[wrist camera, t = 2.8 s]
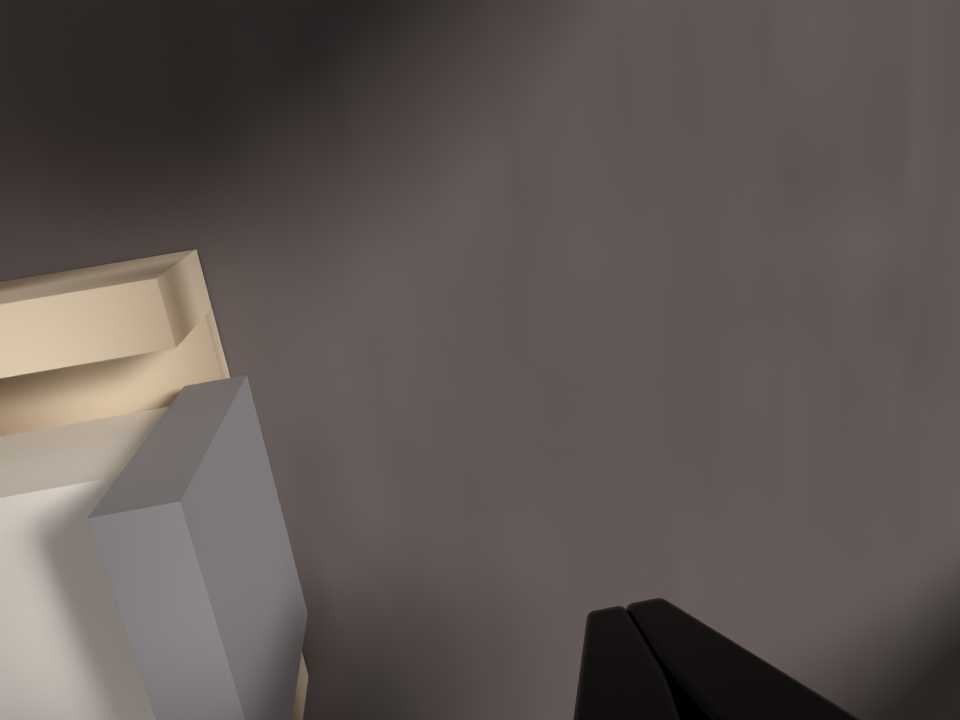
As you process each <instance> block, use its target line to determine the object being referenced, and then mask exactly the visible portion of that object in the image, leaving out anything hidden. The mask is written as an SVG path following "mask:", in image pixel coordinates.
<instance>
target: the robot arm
mask: <svg viewBox="0 0 960 720" xmlns="http://www.w3.org/2000/svg"><path fill="white" fill-rule="evenodd" d="M574 720H860V719H858V718H857V717H855V716H854V715H852V714H850V713H849V712H847V711H845V710H844V709H842V708H841V707H839V706H837V705H836V704H834V703H832V702H831V701H829V700H828V699H826V698H824V697H823V696H821V695H819V694H818V693H816V692H815V691H813V690H811V689H810V688H808V687H806V686H805V685H803V684H802V683H800V682H798V681H797V680H795V679H793V678H792V677H790V676H789V675H787V674H785V673H784V672H782V671H780V670H779V669H777V668H775V667H774V666H772V665H771V664H769V663H767V662H766V661H764V660H762V659H761V658H759V657H758V656H756V655H754V654H753V653H751V652H749V651H748V650H746V649H745V648H743V647H741V646H740V645H738V644H736V643H735V642H733V641H732V640H730V639H728V638H727V637H725V636H723V635H722V634H720V633H719V632H717V631H715V630H714V629H712V628H710V627H709V626H707V625H706V624H704V623H702V622H701V621H699V620H697V619H696V618H694V617H693V616H691V615H689V614H688V613H686V612H684V611H683V610H681V609H679V608H678V607H676V606H675V605H673V604H671V603H670V602H668V601H666V600H664V599H661V598H656V599H651V600H646V601H641V602H636V603H631V604H629V605H628V606H627V608H626V609H625V608H624V607H621V606H616V607H611V608H606V609H601V610H595V611H592V612H590V613H589V614H588V616H587V622H586V629H585V637H584V644H583V652H582V659H581V667H580V674H579V682H578V690H577V697H576V705H575V712H574Z"/></svg>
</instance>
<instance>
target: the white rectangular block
mask: <svg viewBox="0 0 960 720" xmlns="http://www.w3.org/2000/svg"><path fill="white" fill-rule="evenodd" d="M307 616H308V613H307V609H306V605H305V601H304V597H303V593H302V589H301V585H300V581H299V577H298V573H297V569H296V566H295V562H294V558H293V554H292V550H291V546H290V542H289V538H288V534H287V530H286V526H285V522H284V519H283V515H282V511H281V507H280V503H279V499H278V495H277V491H276V487H275V483H274V479H273V475H272V472H271V468H270V464H269V460H268V456H267V452H266V448H265V444H264V440H263V436H262V432H261V428H260V425H259V421H258V417H257V413H256V409H255V405H254V401H253V397H252V393H251V389H250V385H249V381H248V378H247V375H244V376H238V377H232V378H227V379H221V380H215V381H209V382H204V383H198V384H192V385H187V386H184V387H183V389H182V390H181V391H180V393H179V394H178V396H177V397H176V398H175V400H174V401H173V402H172V404H171V405H170V406H169V407H164V408H159V409H153V410H147V411H142V412H136V413H131V414H125V415H119V416H114V417H108V418H102V419H97V420H91V421H85V422H80V423H74V424H68V425H63V426H57V427H51V428H46V429H40V430H35V431H29V432H23V433H18V434H12V435H6V436H1V437H0V720H292V713H293V707H294V700H295V694H296V687H297V681H298V674H299V668H300V662H301V655H302V649H303V642H304V636H305V629H306V623H307Z"/></svg>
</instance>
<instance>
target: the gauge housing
mask: <svg viewBox="0 0 960 720" xmlns="http://www.w3.org/2000/svg"><path fill="white" fill-rule="evenodd" d="M227 378H230V375H229V372H228V368H227V364H226V360H225V356H224V353H223V349H222V345H221V341H220V337H219V334H218V330H217V326H216V322H215V318H214V315H213V311H212V307H211V303H210V299H209V296H208V292H207V288H206V284H205V280H204V276H203V273H202V269H201V265H200V261H199V257H198V254H197V250H190V251H184V252H178V253H172V254H166V255H159V256H153V257H147V258H141V259H135V260H129V261H123V262H117V263H111V264H105V265H99V266H93V267H87V268H81V269H75V270H69V271H63V272H56V273H50V274H44V275H38V276H32V277H26V278H20V279H14V280H8V281H2V282H0V437H1V436H6V435H12V434H18V433H23V432H29V431H35V430H40V429H46V428H51V427H57V426H63V425H68V424H74V423H80V422H85V421H91V420H97V419H102V418H108V417H114V416H119V415H125V414H131V413H136V412H142V411H147V410H153V409H159V408H164V407H169V406H170V405H171V404H172V402H173V401H174V400H175V398H176V397H177V396H178V394H179V393H180V391H181V390H182V389H183V387H184V386H187V385H192V384H198V383H204V382H209V381H215V380H221V379H227ZM308 677H309V676H308V672H307V669H306V665H305V661H304V657H303V653H302V655H301V662H300V668H299V674H298V681H297V687H296V694H295V700H294V707H293V713H292V720H303V714H304V706H305V699H306V692H307V684H308Z"/></svg>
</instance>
